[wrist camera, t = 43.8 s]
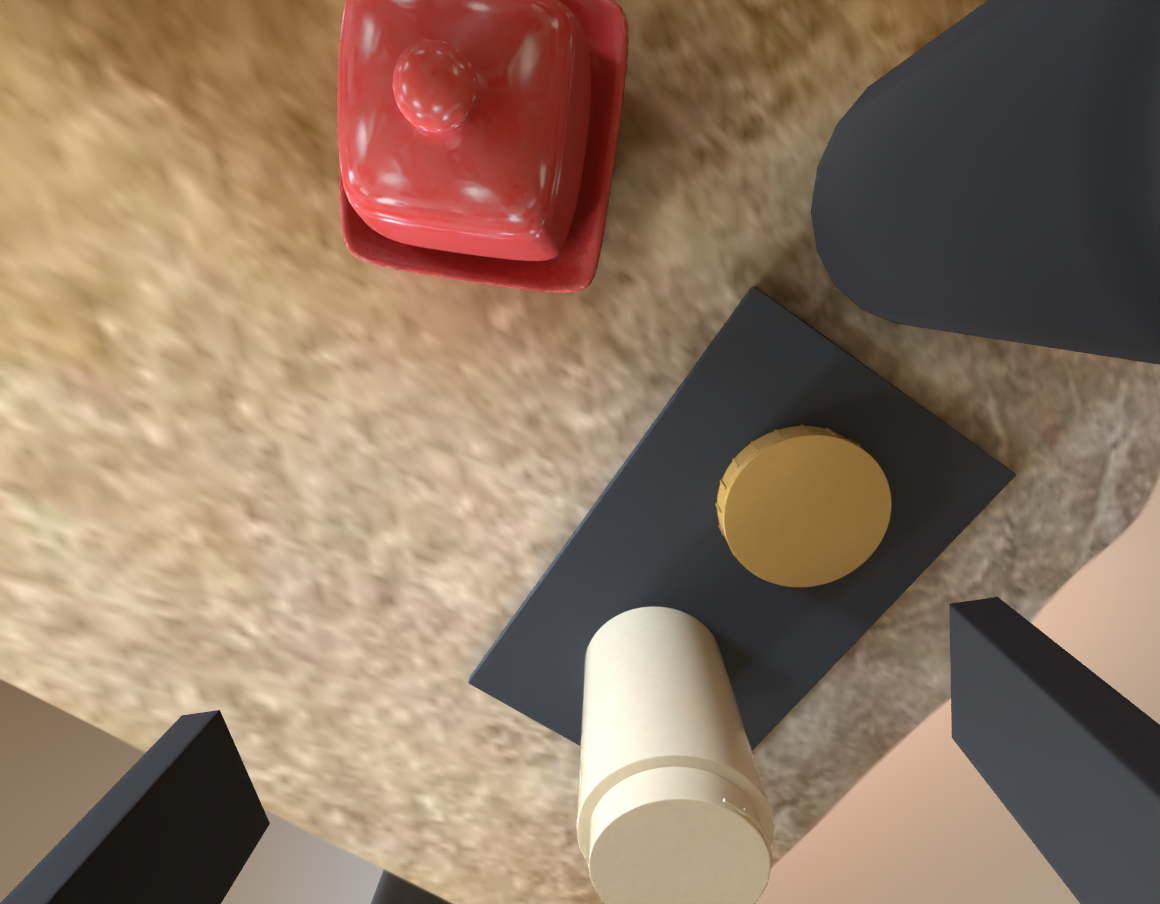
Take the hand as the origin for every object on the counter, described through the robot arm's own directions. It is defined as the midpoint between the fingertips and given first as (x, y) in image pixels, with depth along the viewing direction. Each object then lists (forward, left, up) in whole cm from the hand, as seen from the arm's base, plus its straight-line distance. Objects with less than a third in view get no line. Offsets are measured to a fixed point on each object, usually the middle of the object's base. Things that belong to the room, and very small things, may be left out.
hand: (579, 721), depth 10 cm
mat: (-3, -10, -19) cm, 22 cm away
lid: (+3, -10, -17) cm, 20 cm away
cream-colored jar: (-9, -10, -19) cm, 23 cm away
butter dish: (+8, +11, -19) cm, 24 cm away
